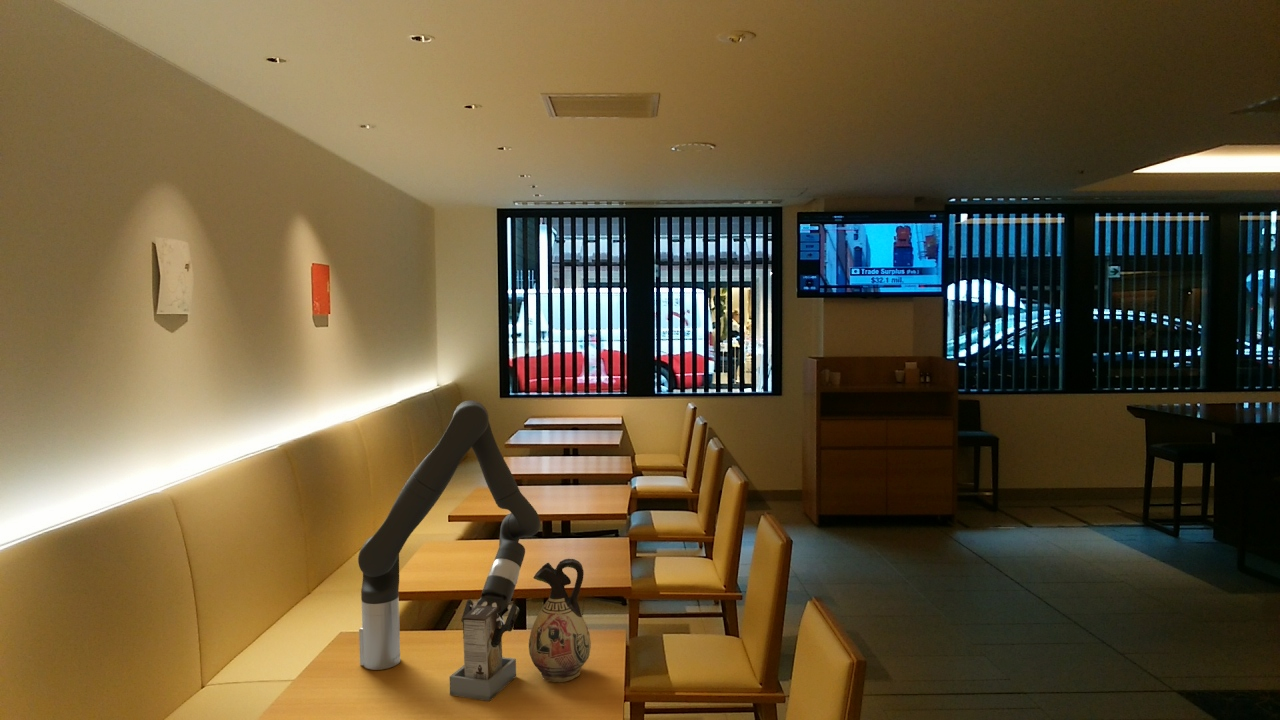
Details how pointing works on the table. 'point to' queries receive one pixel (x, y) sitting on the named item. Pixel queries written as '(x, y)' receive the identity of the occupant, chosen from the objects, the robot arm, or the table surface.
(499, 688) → the grey tub
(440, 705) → the table surface
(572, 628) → the ceramic jug
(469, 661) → the coffee box
